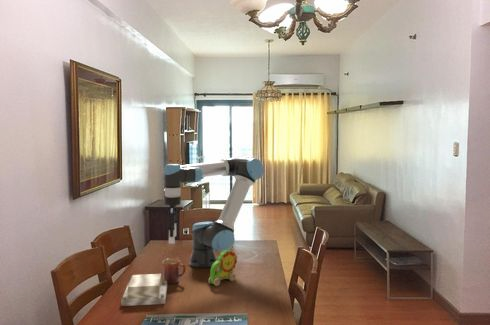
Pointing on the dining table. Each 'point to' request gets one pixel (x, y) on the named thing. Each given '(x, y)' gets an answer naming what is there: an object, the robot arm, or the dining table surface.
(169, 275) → the mug
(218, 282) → the toy lion
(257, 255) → the dining table surface
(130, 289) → the mottled white flat box
